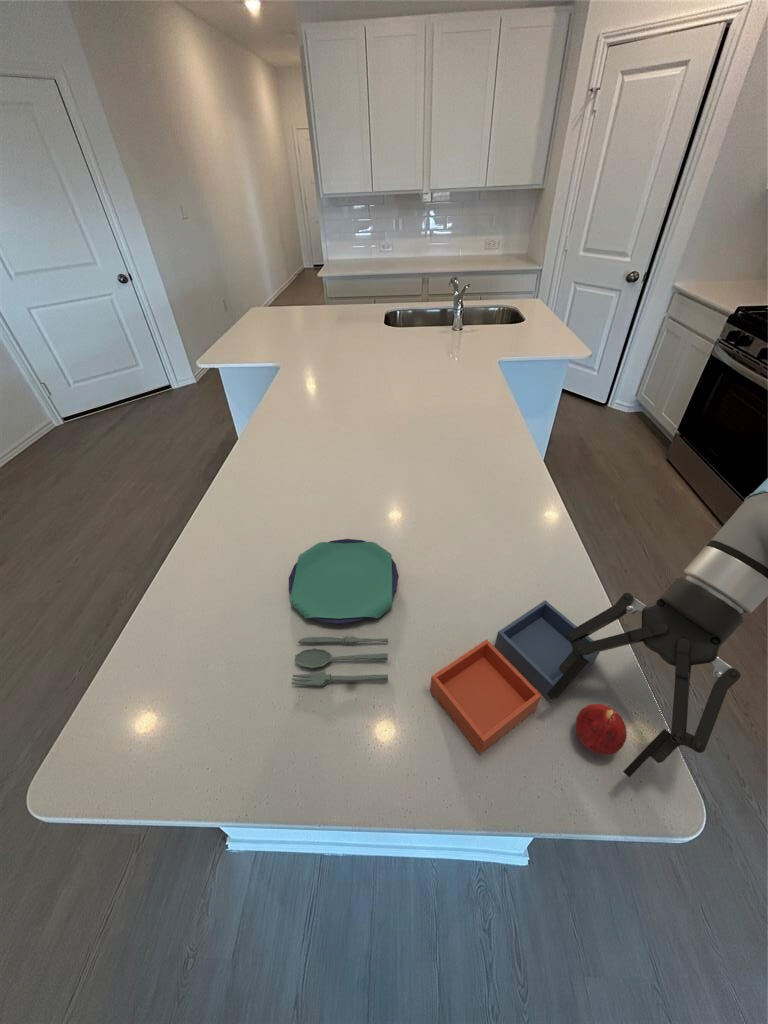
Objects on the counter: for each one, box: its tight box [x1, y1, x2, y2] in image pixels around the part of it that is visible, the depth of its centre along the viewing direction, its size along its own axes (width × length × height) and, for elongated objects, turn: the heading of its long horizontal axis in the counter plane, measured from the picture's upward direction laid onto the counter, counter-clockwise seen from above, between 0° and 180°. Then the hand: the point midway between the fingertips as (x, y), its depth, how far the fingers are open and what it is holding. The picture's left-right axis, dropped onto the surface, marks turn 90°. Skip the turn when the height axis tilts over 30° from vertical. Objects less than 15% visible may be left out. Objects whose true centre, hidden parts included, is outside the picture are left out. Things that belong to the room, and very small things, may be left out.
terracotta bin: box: [429, 639, 543, 755], centre depth 62 cm, size 11×11×4 cm
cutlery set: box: [288, 538, 399, 687], centre depth 76 cm, size 20×30×2 cm, turn 0°
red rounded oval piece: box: [575, 703, 628, 756], centre depth 56 cm, size 6×6×8 cm
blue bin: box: [494, 600, 600, 701], centre depth 67 cm, size 11×11×4 cm
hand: (587, 731), depth 55 cm, fingers open, 10 cm apart
